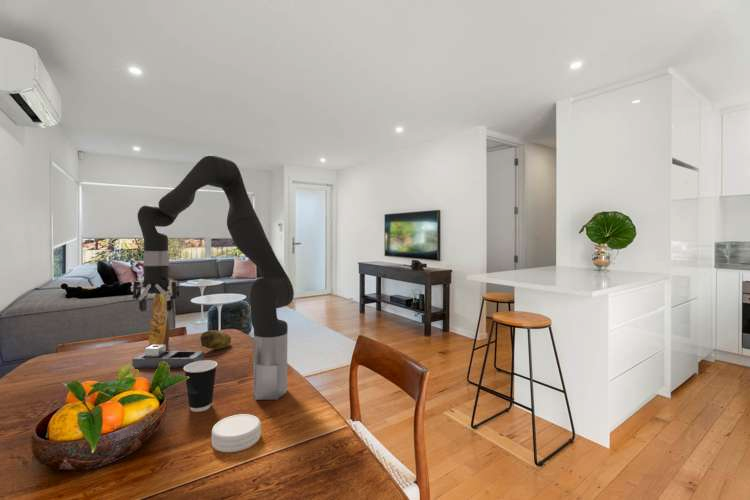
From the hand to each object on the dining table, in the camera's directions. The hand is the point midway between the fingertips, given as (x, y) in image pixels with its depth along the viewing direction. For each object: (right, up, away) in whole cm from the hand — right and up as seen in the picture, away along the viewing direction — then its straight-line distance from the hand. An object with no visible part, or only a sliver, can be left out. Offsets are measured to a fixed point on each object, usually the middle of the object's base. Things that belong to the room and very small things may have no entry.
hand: (156, 310), depth 121 cm
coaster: (+45, -21, -44) cm, 66 cm away
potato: (+13, -18, +17) cm, 28 cm away
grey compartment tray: (+4, -19, +1) cm, 19 cm away
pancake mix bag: (-11, -18, +21) cm, 30 cm away
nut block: (-1, -18, 0) cm, 18 cm away
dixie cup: (+30, -20, -30) cm, 47 cm away
